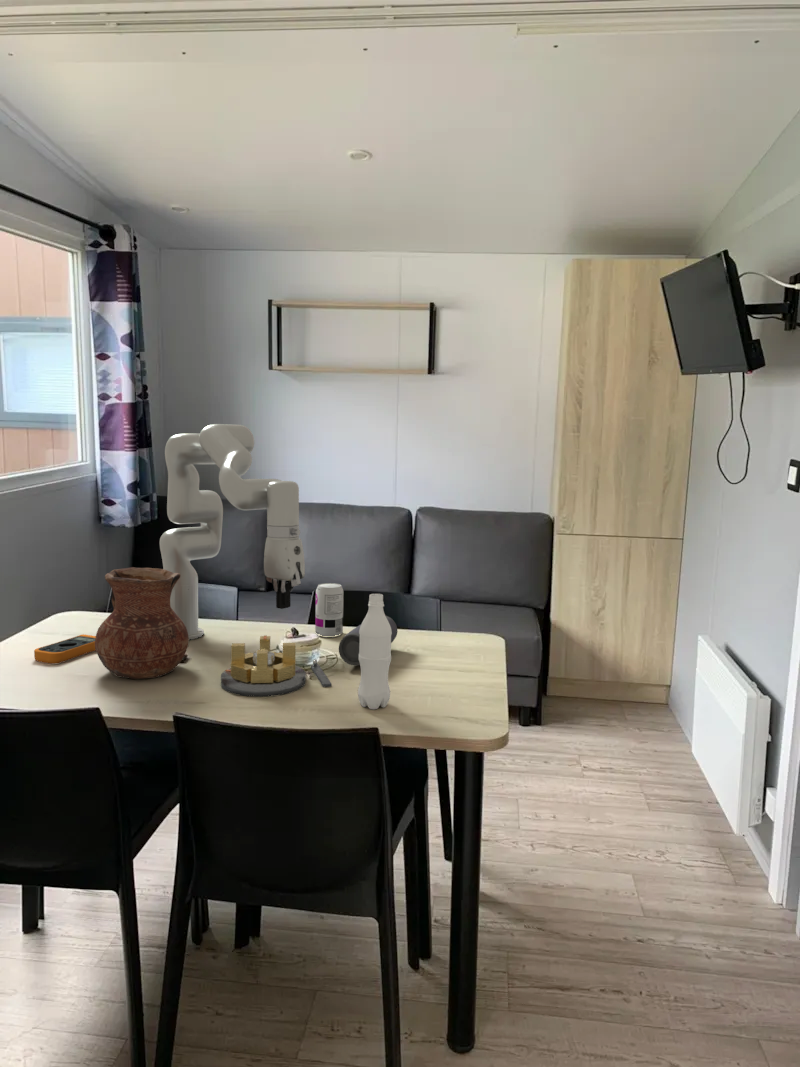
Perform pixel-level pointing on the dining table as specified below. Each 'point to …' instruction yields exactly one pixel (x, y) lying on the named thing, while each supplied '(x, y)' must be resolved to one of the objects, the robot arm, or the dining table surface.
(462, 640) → the dining table surface
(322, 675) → the pin spanner
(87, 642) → the multimeter
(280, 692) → the housing
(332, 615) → the supplement can
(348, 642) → the bluetooth speaker
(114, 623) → the clay pot
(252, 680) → the ring nut
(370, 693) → the water bottle
